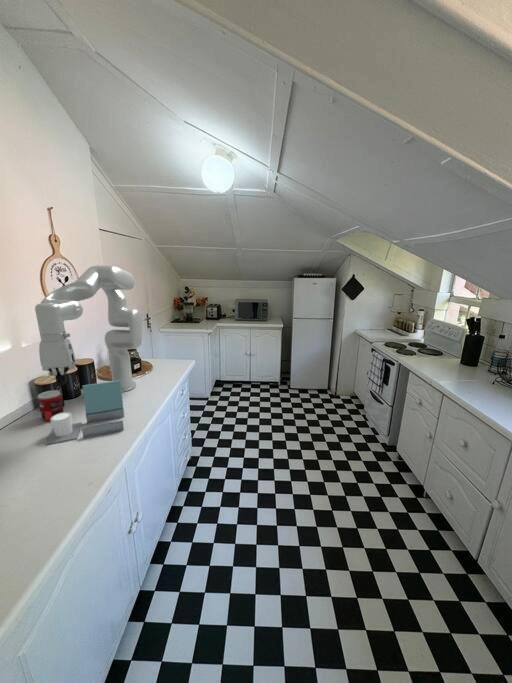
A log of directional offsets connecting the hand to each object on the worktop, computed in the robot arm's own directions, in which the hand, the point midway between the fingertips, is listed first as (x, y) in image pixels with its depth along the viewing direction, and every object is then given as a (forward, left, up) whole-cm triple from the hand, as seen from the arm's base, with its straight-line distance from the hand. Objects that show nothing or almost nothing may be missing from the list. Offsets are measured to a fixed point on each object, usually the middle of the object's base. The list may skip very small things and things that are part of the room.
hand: (62, 383), depth 108 cm
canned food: (-14, -9, -20) cm, 26 cm away
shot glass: (+2, -2, -20) cm, 20 cm away
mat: (+2, -2, -20) cm, 20 cm away
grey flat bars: (+2, +12, -20) cm, 24 cm away
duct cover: (-5, +12, -10) cm, 17 cm away
